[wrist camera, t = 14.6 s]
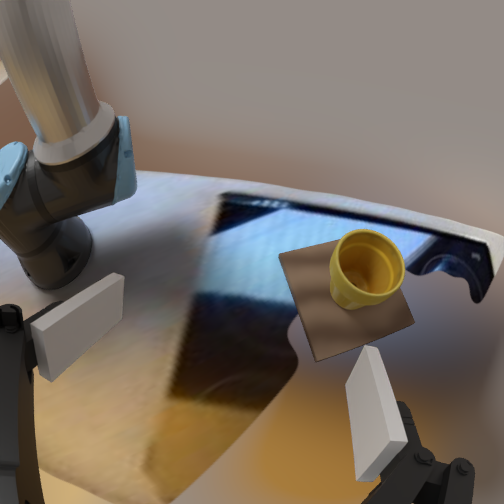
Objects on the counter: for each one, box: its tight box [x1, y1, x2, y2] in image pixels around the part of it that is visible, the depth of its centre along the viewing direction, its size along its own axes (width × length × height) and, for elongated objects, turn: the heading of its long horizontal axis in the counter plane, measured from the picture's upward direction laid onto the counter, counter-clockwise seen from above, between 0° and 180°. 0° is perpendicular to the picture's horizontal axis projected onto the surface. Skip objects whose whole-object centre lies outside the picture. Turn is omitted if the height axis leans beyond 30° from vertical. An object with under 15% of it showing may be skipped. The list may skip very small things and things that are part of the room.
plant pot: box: [330, 229, 405, 310], centre depth 43 cm, size 10×10×10 cm
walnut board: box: [279, 239, 415, 362], centre depth 48 cm, size 18×18×1 cm
